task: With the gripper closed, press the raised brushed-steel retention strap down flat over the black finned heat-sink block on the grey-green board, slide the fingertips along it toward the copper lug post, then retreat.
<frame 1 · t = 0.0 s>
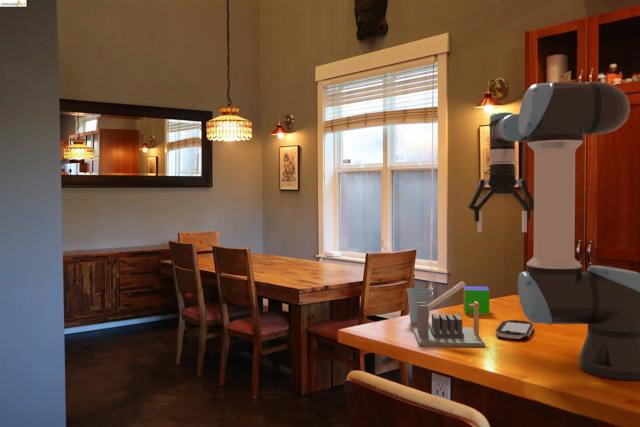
hand: (501, 232, 180), 28 cm above the kitchen island, fingers open, 13 cm apart
gaming console: (514, 334, 166), on the kitchen island
board: (446, 338, 161), on the kitchen island
cup: (419, 323, 180), on the kitchen island
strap: (442, 297, 160), point 11 cm above the kitchen island, hinge at 35.0°
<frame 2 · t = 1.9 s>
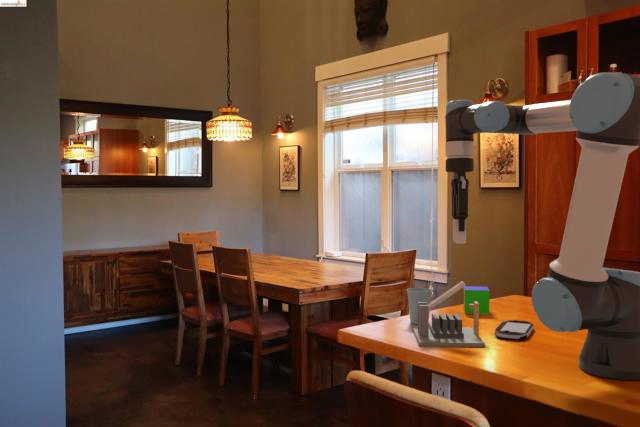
hand: (459, 242, 160), 27 cm above the kitchen island, fingers open, 4 cm apart
nothing on the kitchen island moved.
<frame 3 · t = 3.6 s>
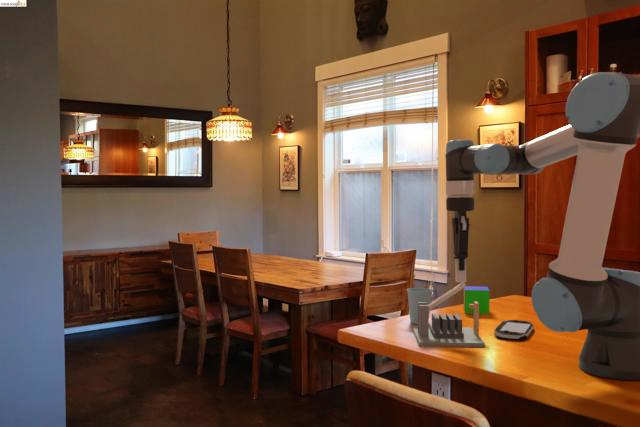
hand: (460, 281, 160), 16 cm above the kitchen island, fingers closed
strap: (443, 298, 160), point 11 cm above the kitchen island, hinge at 33.6°, touching gripper
everything else where it was.
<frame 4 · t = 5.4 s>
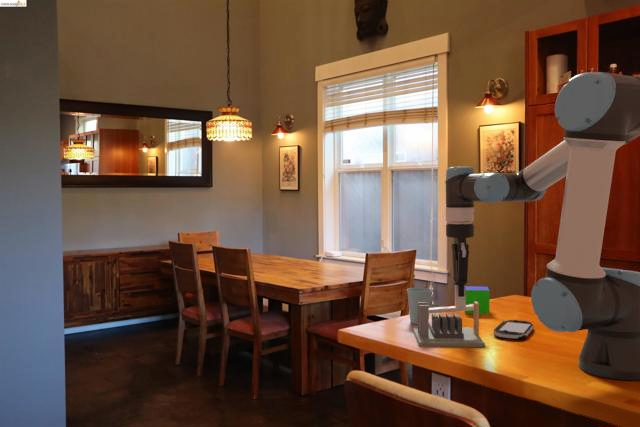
hand: (460, 307, 161), 8 cm above the kitchen island, fingers closed
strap: (447, 309, 160), point 8 cm above the kitchen island, hinge at 4.7°, touching gripper
everything else where it was.
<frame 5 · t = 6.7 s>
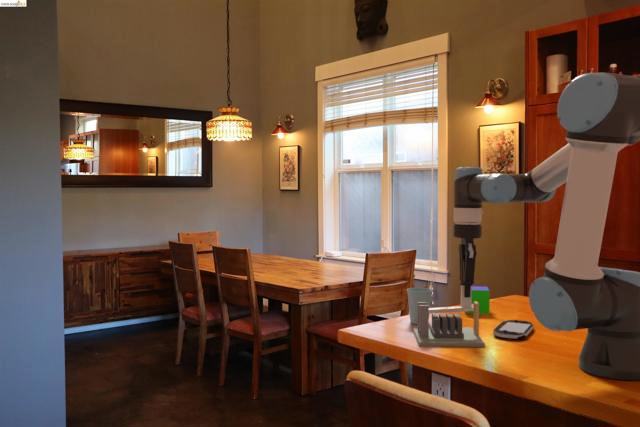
hand: (466, 308, 160), 8 cm above the kitchen island, fingers closed
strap: (447, 309, 160), point 8 cm above the kitchen island, hinge at 3.7°, touching gripper
everything else where it was.
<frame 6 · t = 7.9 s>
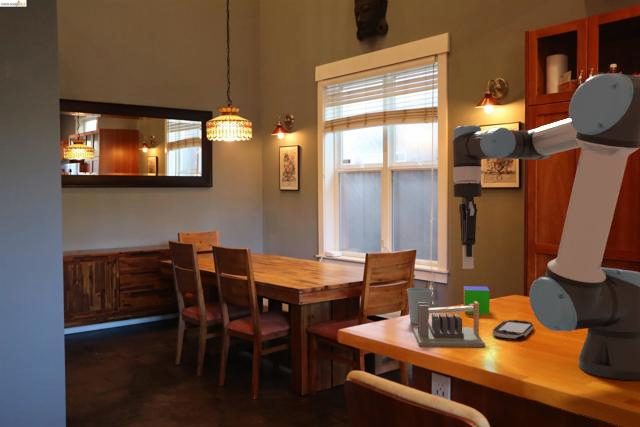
hand: (468, 268, 159), 20 cm above the kitchen island, fingers closed
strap: (447, 309, 160), point 8 cm above the kitchen island, hinge at 3.7°
everything else where it was.
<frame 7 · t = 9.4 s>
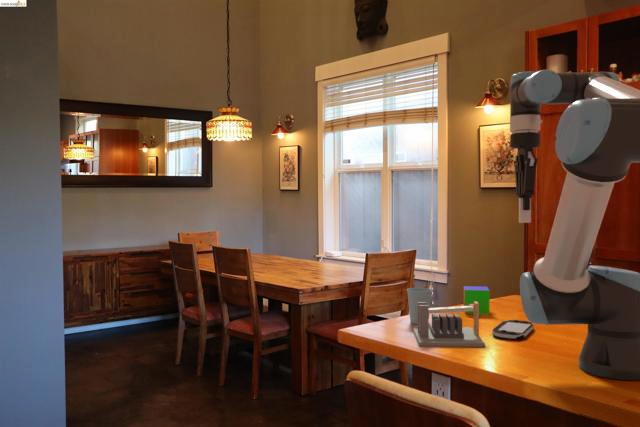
hand: (524, 222, 152), 32 cm above the kitchen island, fingers closed
nothing on the kitchen island moved.
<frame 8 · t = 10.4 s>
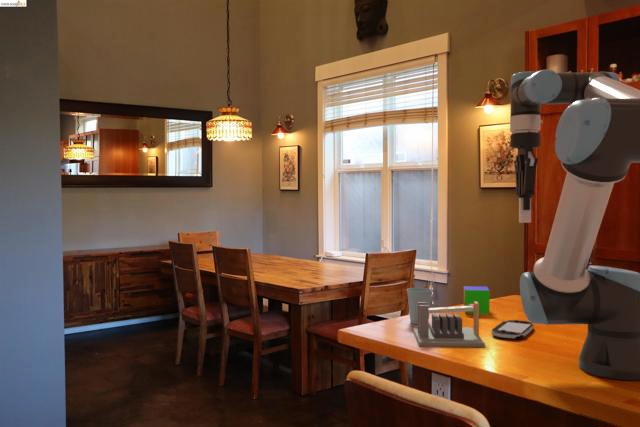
hand: (524, 222, 152), 32 cm above the kitchen island, fingers closed
nothing on the kitchen island moved.
at the end: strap at +4° (first picture: +35°) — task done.
